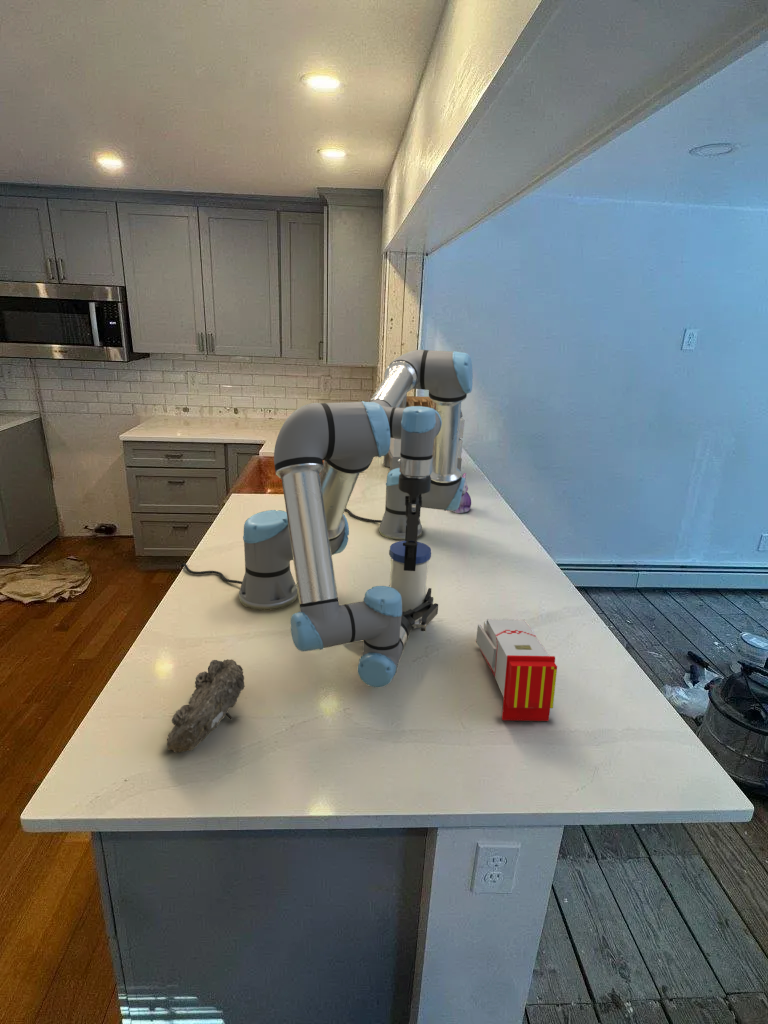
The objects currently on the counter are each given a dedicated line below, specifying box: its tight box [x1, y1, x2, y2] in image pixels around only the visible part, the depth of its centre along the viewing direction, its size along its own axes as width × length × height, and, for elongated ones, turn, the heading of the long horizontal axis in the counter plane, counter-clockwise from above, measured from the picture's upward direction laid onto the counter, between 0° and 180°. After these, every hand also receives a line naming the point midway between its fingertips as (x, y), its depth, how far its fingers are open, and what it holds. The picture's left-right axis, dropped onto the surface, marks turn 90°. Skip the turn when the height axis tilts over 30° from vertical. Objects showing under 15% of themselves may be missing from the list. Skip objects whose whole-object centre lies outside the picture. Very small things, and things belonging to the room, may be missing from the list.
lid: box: [388, 540, 432, 564], centre depth 139 cm, size 10×10×2 cm
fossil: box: [166, 658, 245, 754], centre depth 106 cm, size 22×10×15 cm
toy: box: [475, 618, 558, 722], centre depth 122 cm, size 12×13×30 cm
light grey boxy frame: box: [383, 392, 465, 473], centre depth 268 cm, size 34×33×41 cm
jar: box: [388, 557, 430, 629], centre depth 142 cm, size 9×9×19 cm
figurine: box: [452, 472, 472, 514], centre depth 224 cm, size 9×10×15 cm
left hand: (410, 590), depth 147 cm, fingers closed on jar, 9 cm apart
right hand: (409, 559), depth 139 cm, fingers open, 11 cm apart
